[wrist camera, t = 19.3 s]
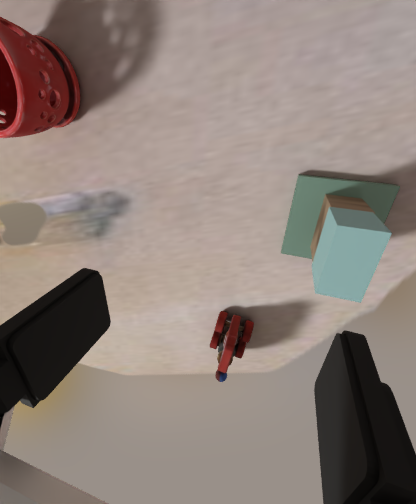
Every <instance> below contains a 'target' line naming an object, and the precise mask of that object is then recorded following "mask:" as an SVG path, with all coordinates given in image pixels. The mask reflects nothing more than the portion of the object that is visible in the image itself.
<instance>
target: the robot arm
mask: <svg viewBox="0 0 416 504" xmlns="http://www.w3.org/2000/svg"><path fill="white" fill-rule="evenodd" d="M110 322H111V321H110V315H109V310H108V305H107V300H106V295H105V290H104V285H103V280H102V276H101V275H100V274H99V272H98V271H95V270H91V269H87V268H83V269H81V270H80V271H78V272H77V273H75V274H74V275H72V276H71V277H70V278H68V279H67V280H65V281H64V282H62V283H61V284H59V285H58V286H57V287H55V288H54V289H52V290H51V291H49V292H48V293H46V294H45V295H44V296H42V297H41V298H39V299H38V300H36V301H35V302H33V303H32V304H31V305H29V306H28V307H26V308H25V309H23V310H22V311H20V312H19V313H18V314H16V315H15V316H13V317H12V318H10V319H9V320H8V321H6V322H5V323H3V324H2V325H0V504H108V503H106V502H104V501H102V500H100V499H98V498H96V497H94V496H92V495H90V494H88V493H86V492H84V491H82V490H80V489H78V488H76V487H74V486H72V485H70V484H68V483H66V482H64V481H62V480H60V479H58V478H56V477H54V476H52V475H50V474H48V473H46V472H44V471H42V470H40V469H38V468H36V467H34V466H32V465H30V464H28V463H26V462H24V461H22V460H20V459H18V458H16V457H14V456H11V455H10V454H8V453H6V452H4V451H3V450H4V446H5V442H6V437H7V434H8V430H9V426H10V421H11V418H12V414H13V410H14V406H15V405H16V404H17V403H18V402H19V401H21V402H22V403H23V404H25V405H27V406H30V407H32V408H34V407H35V406H36V405H37V404H38V403H39V401H40V400H44V399H45V398H46V397H47V396H48V395H49V394H50V393H51V392H52V391H53V390H54V389H55V388H56V386H57V385H58V384H59V383H60V382H61V381H62V380H63V379H64V377H65V376H66V375H67V374H68V373H69V372H70V371H71V370H72V369H73V367H74V366H75V365H76V364H77V363H78V362H79V361H80V360H81V359H82V357H83V356H84V355H85V354H86V353H87V352H88V351H89V350H90V348H91V347H92V346H93V345H94V344H95V343H96V342H97V341H98V340H99V338H100V337H101V336H102V335H103V334H104V333H105V332H106V331H107V329H108V328H109V326H110ZM315 404H316V416H317V429H318V441H319V453H320V466H321V477H322V490H323V503H324V504H416V454H415V451H414V449H413V446H412V443H411V440H410V438H409V435H408V433H407V430H406V427H405V424H404V422H403V419H402V416H401V414H400V411H399V408H398V405H397V403H396V400H395V397H394V395H393V392H392V391H391V388H390V387H389V386H388V385H387V384H385V383H382V382H381V381H380V378H379V375H378V372H377V369H376V366H375V363H374V361H373V358H372V355H371V352H370V349H369V346H368V343H367V340H366V338H365V336H364V335H362V334H358V333H353V332H349V331H343V332H342V334H339V333H337V334H336V336H335V338H334V340H333V342H332V345H331V347H330V350H329V352H328V354H327V356H326V359H325V361H324V363H323V366H322V368H321V370H320V373H319V375H318V377H317V380H316V382H315Z"/></svg>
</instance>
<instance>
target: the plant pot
mask: <svg viewBox="0 0 416 504" xmlns="http://www.w3.org/2000/svg"><path fill="white" fill-rule="evenodd" d="M79 105H80V88H79V83H78V80H77V76H76V74H75V71H74V69H73V67H72V65H71V63H70V61H69V60H68V58H67V57H66V56H65V54H64V53H63V52H62V51H61V50H60V49H59V48H58V47H57V46H56V45H55V44H54V43H52V42H51V41H49V40H48V39H46V38H44V37H41V36H37V35H32V34H30V33H29V32H27V31H26V30H24V29H23V28H21V27H19V26H17V25H15V24H14V23H12V22H10V21H8V20H6V19H4V18H2V17H0V111H2V112H4V113H5V114H6V115H1V114H0V120H2V121H3V122H5V123H0V138H10V137H21V136H27V135H32V134H36V133H40V132H43V131H46V130H48V129H50V128H52V127H64V126H66V125H68V124H69V123H71V122H72V121H73V119H74V118H75V116H76V114H77V112H78V109H79Z"/></svg>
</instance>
